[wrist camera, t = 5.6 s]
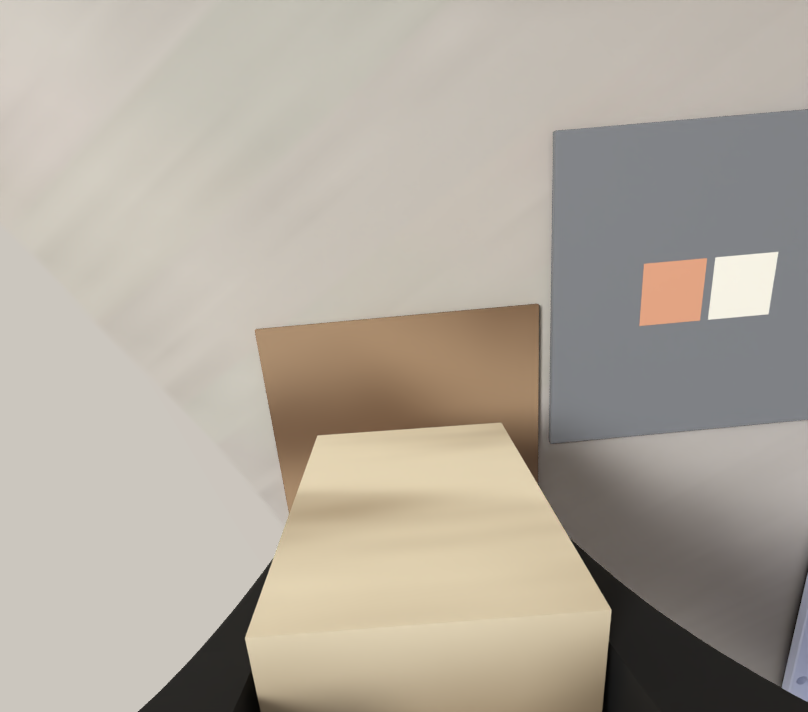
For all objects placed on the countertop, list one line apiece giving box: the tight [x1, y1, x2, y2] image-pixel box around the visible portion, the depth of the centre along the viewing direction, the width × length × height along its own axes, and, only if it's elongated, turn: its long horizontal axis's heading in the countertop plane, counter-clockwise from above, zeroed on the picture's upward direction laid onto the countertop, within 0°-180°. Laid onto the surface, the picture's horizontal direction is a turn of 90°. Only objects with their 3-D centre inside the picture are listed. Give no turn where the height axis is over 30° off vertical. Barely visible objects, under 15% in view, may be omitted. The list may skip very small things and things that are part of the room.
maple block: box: [245, 423, 611, 712], centre depth 9 cm, size 5×5×6 cm
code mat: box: [549, 109, 808, 444], centre depth 15 cm, size 11×11×1 cm
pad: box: [255, 304, 539, 513], centre depth 16 cm, size 10×10×1 cm
